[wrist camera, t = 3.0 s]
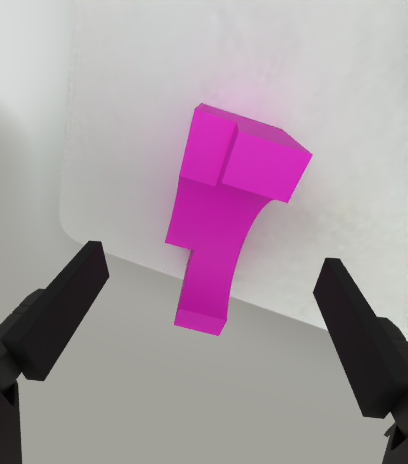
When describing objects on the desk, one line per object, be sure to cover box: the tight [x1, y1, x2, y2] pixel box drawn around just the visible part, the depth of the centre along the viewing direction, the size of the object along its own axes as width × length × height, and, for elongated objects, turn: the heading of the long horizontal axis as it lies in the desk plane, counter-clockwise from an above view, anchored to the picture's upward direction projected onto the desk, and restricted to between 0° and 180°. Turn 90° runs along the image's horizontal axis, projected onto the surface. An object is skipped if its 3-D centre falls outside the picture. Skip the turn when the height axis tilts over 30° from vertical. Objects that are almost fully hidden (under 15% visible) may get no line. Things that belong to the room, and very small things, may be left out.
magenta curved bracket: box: [165, 104, 312, 336], centre depth 18 cm, size 15×6×8 cm, turn 164°
